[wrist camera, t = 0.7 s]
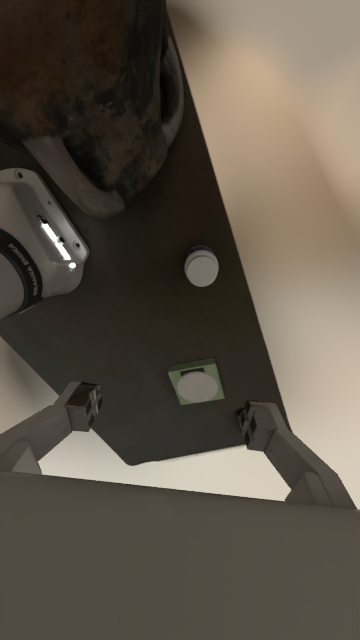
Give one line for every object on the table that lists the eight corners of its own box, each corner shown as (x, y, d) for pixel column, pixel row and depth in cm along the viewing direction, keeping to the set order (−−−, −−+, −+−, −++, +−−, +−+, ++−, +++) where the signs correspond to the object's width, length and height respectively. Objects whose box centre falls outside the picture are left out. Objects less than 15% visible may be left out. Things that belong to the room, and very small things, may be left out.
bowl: (179, 112, 36) (128, -45, 24) (274, 126, 20) (259, -323, 8) (66, 201, 39) (-27, 101, 28) (67, 278, 23) (-157, 111, 11)
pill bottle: (183, 247, 38) (180, 256, 29) (213, 242, 38) (219, 249, 29) (188, 276, 41) (186, 292, 32) (216, 272, 40) (222, 287, 31)
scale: (168, 366, 52) (167, 374, 49) (214, 357, 50) (215, 365, 47) (181, 398, 57) (180, 407, 54) (223, 391, 55) (224, 400, 52)
